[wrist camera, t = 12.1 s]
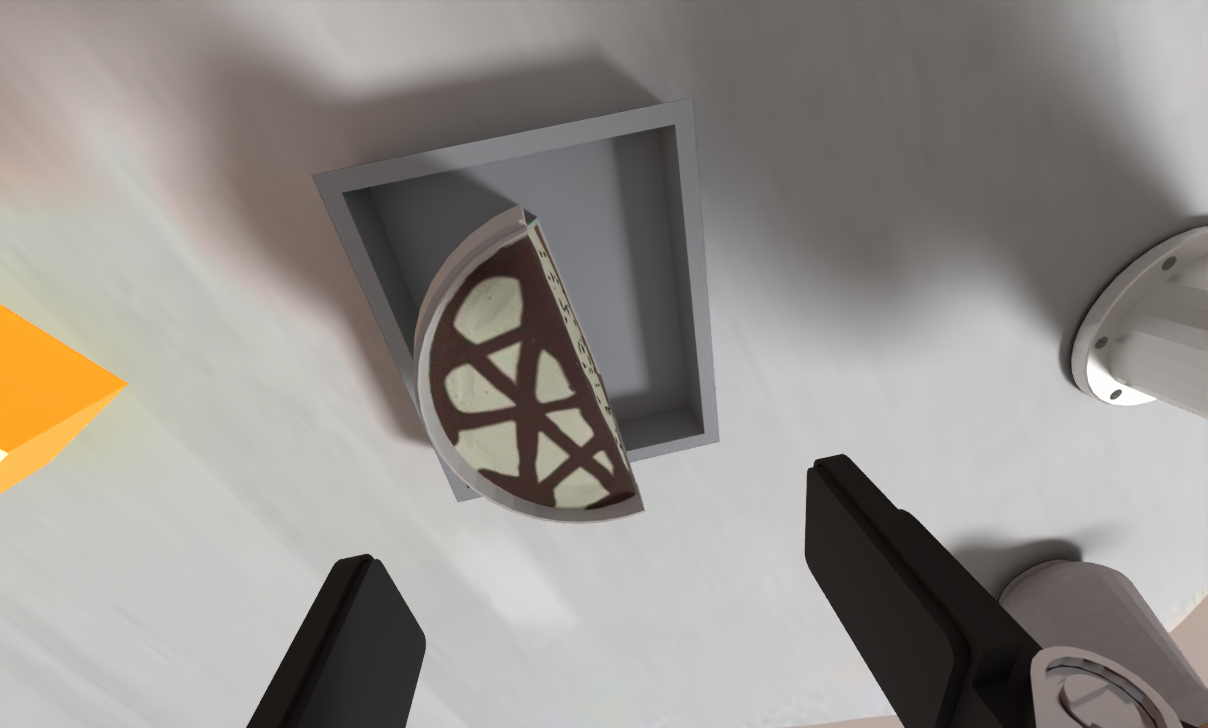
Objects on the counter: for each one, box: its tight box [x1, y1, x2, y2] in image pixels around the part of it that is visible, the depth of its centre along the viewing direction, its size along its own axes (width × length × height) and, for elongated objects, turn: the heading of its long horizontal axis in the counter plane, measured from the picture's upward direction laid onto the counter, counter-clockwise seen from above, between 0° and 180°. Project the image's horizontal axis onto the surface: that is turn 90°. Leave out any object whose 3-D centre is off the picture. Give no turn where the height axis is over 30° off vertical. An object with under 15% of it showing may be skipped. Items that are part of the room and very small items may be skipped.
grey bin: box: [312, 97, 719, 502], centre depth 23 cm, size 15×17×4 cm
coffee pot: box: [999, 560, 1208, 728], centre depth 37 cm, size 21×12×15 cm, turn 92°
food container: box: [413, 204, 645, 524], centre depth 19 cm, size 12×6×10 cm, turn 19°
